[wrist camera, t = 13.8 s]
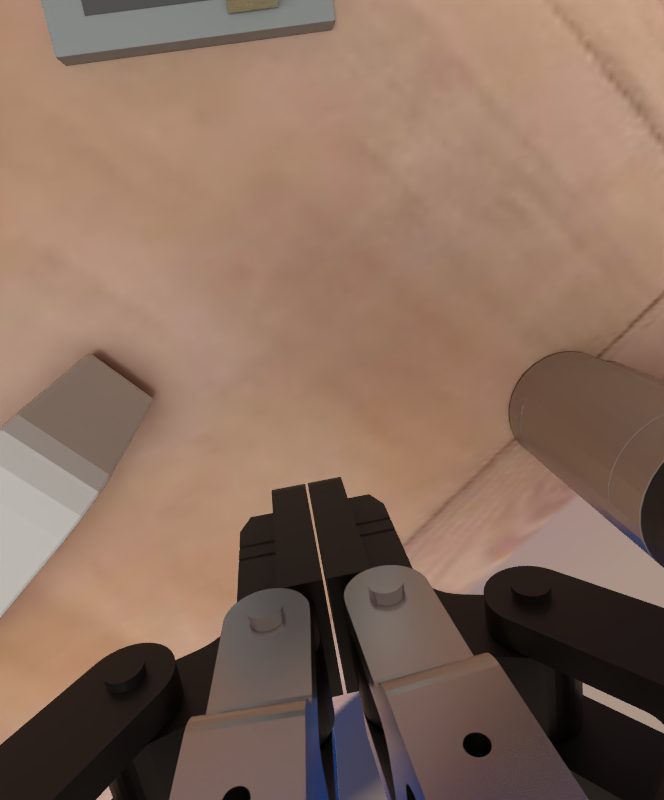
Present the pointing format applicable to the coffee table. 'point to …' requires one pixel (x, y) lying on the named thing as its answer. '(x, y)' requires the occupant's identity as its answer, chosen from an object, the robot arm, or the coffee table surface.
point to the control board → (170, 25)
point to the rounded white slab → (60, 464)
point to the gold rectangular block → (249, 5)
